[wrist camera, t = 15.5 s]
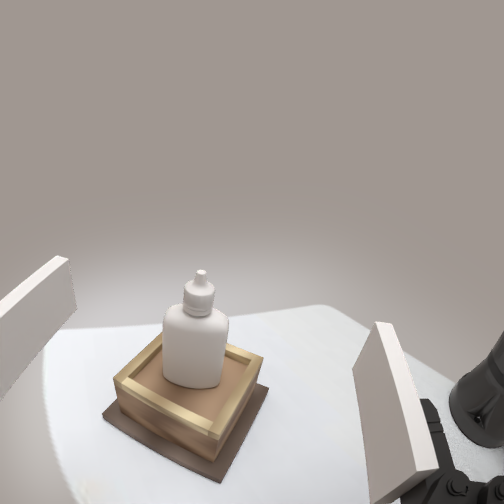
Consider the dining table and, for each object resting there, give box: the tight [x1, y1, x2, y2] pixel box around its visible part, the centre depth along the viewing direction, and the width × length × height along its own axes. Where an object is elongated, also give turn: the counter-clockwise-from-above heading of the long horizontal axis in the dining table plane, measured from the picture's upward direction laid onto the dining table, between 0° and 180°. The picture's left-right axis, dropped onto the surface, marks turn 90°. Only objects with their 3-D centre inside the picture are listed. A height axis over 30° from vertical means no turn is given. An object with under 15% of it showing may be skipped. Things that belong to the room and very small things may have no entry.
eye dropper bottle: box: [162, 270, 229, 389], centre depth 26 cm, size 4×6×12 cm
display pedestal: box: [102, 331, 269, 483], centre depth 29 cm, size 14×14×7 cm
